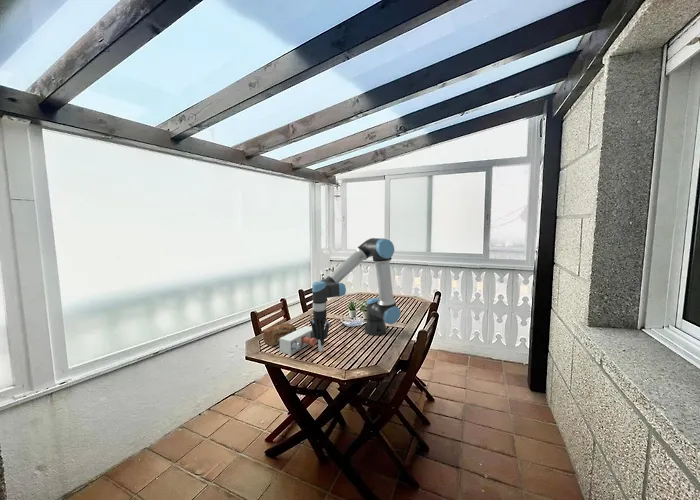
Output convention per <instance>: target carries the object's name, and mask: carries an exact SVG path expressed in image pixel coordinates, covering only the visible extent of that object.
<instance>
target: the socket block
mask: <svg viewBox="0 0 700 500" xmlns="http://www.w3.org/2000/svg"><path fill="white" fill-rule="evenodd" d="M311 332H313V330H312V326H309V325H304V326H303V327H301V328H299V329H296V331H294V332H292V333H290V334H288V335H286V336H284V337H281V338H279V340H280V344H279V352H280V353H281V354H285V355H290V356H291V355H293V354H294V353H296V352H298V351H297V350H296V349H293V348H291V343H292V342H297V343H298V342H301V337H308V338H311ZM302 344H303V347H302V349H303V348H305V347H307V346H309V344H305V343H302Z"/></svg>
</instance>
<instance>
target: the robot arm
mask: <svg viewBox="0 0 700 500" xmlns="http://www.w3.org/2000/svg"><path fill="white" fill-rule="evenodd" d="M394 245H395V244H394V243H393V242H392V240H390V239H387V238H383V237H382V238H381V237H380V238H375V237H372V238H371V237H370V238H369V239H366V240H365V241H364V242H362V243H361V244H360V245H359V246H358V247H357V248H356V249H355V252H353V253H352V254H351V255H350V256H349V257H347V259H346V260H344V261H343V262H342V263H341V264H340V265H339V266H338V267H337V268H335V270H334V271H332V272H331V273H330V274H329V275H328V276H327V277H326V278H322V279H320V280H319V281H315V282H313V283H312V285H311V286H312V289H311V291H312V293H311V294H312V317H313V318H312V319H311V320H309V324H310V325H311V326H310V327H312V330H313V335H314V338H317V340H316V345H317V347H318V349H317V350H318V351H317V352H322V351H323V350H324V345H325V340H326V339H328V335H329V330H330V326H331V325H332V322H329V321H328V318H327V299H330V298H337V297H343V296H345V295H346V293H347V286H346V285H345V283H344V282H342V281H343V279H344V278H346V277H347V276H349V274H350V273H351V272H352V271H354V269H355V268H356V267H358V266H359V265H360V264H361V263H362V262H363V261H366V260H368V259H369V258H371V257H372V262H373V263H375V269H376V278H377V288H378V296H379V297H372V298H368V299H367V301H366V323H365V325H364V330H363V331H364V333H365V334H367V335H369V336H382V335H385V334H387V326H386V324H388V325H393V324H395V323H397V322H398V321H399V319H400V318H401V309H400V308H399V307H398V306H397V302H396V299H394V295H393V285H392V283H393V281H392V275H391V265H390V262H391V261H392V258H393V256H394V253H395V246H394Z"/></svg>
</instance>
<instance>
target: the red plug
mask: <svg viewBox="0 0 700 500" xmlns="http://www.w3.org/2000/svg"><path fill="white" fill-rule="evenodd" d="M301 343H305V344H308V345H310V346H311V347H316V345H317V340H316V338H308V337H301Z"/></svg>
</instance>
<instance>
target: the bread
mask: <svg viewBox="0 0 700 500" xmlns="http://www.w3.org/2000/svg"><path fill="white" fill-rule="evenodd" d="M296 330H297V327H296V326H295V325H294V324H292V323H288V322H287V323H282V324H278V325H277V324H276V325H273V326H271V327H268V328H266V329H265V330H264V331H263V335H262V336H263V337H262V338H263V342H264V343H265V344H266V345H268V346H270V347H276V345H278V346H279V345H280V340H279V338H281V337H284V336H286V335H288V334H290V333H292V332H294V331H296Z"/></svg>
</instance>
